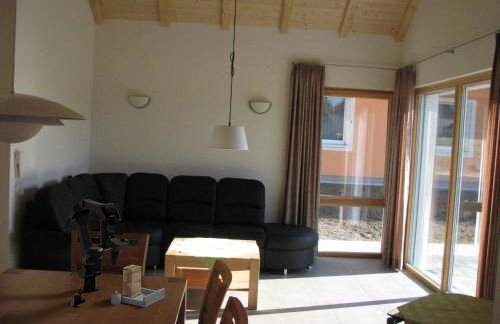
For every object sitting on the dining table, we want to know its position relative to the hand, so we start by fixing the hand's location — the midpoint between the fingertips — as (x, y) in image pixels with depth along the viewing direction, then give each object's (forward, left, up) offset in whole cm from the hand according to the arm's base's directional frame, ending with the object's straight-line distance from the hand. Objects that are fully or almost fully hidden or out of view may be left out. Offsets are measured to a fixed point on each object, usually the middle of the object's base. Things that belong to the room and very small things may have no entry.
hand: (106, 267), depth 199 cm
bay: (+13, +8, -13) cm, 20 cm away
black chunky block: (0, -12, -14) cm, 19 cm away
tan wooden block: (+8, +8, -12) cm, 17 cm away
